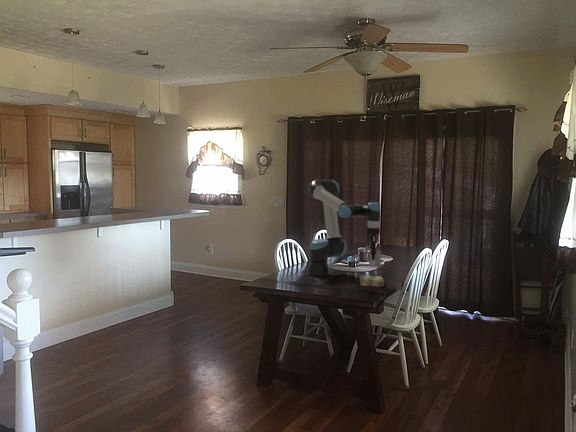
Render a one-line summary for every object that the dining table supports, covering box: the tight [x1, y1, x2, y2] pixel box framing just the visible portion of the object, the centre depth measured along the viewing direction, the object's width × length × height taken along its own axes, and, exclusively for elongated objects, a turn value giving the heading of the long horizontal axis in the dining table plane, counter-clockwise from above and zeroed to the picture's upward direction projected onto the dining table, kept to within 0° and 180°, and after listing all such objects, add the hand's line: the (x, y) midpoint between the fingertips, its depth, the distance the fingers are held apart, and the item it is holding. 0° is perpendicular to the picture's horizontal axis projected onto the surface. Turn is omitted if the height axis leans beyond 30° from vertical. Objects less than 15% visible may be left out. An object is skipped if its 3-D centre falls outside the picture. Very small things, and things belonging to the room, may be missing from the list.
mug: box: [363, 244, 382, 267], centre depth 300 cm, size 8×12×12 cm, turn 54°
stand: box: [359, 275, 385, 288], centre depth 301 cm, size 14×14×3 cm
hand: (372, 263), depth 300 cm, fingers closed on mug, 8 cm apart
